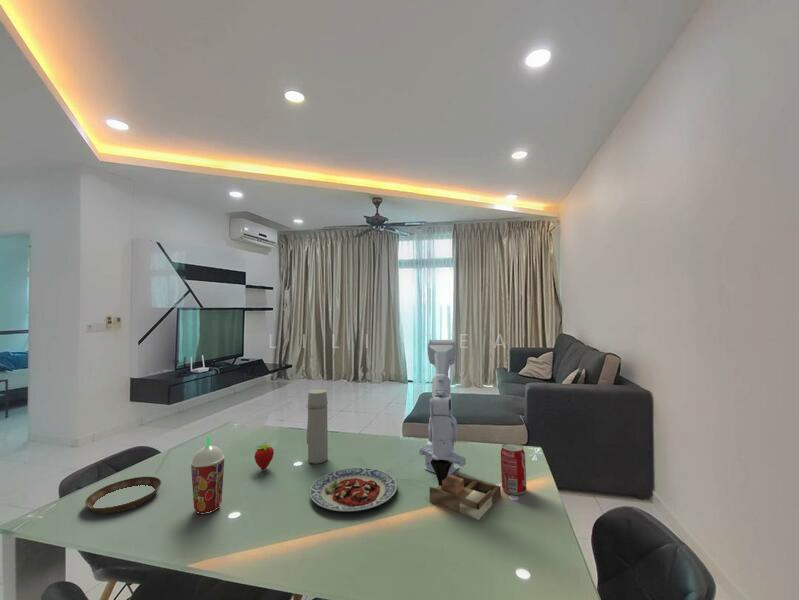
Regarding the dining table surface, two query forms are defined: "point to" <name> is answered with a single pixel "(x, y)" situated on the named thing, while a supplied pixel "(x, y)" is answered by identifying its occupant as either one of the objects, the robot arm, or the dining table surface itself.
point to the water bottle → (317, 426)
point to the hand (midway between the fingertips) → (442, 484)
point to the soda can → (513, 469)
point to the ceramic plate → (353, 489)
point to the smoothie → (207, 478)
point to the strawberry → (264, 456)
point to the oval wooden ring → (120, 485)
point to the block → (453, 484)
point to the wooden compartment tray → (468, 497)
